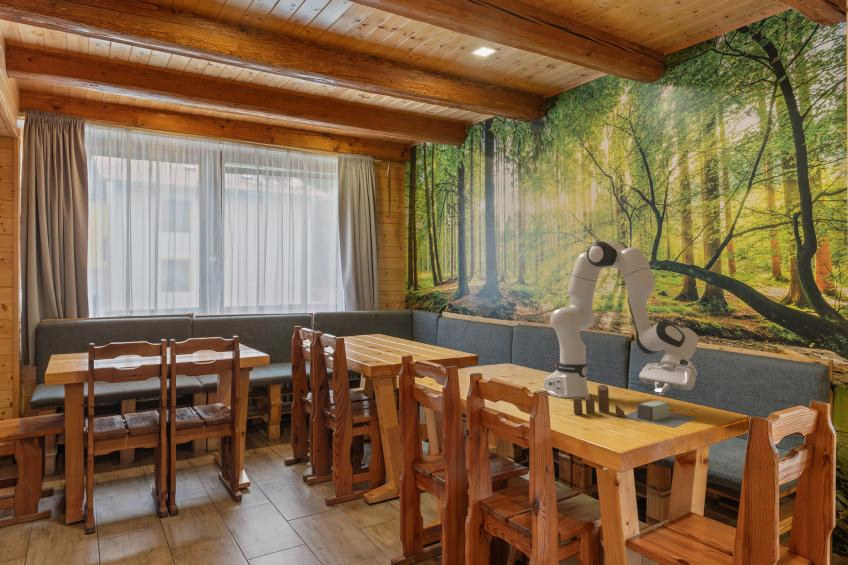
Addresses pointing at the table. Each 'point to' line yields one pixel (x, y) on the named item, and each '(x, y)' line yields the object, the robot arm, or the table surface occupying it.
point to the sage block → (653, 410)
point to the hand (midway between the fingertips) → (658, 393)
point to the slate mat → (663, 419)
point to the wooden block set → (602, 403)
